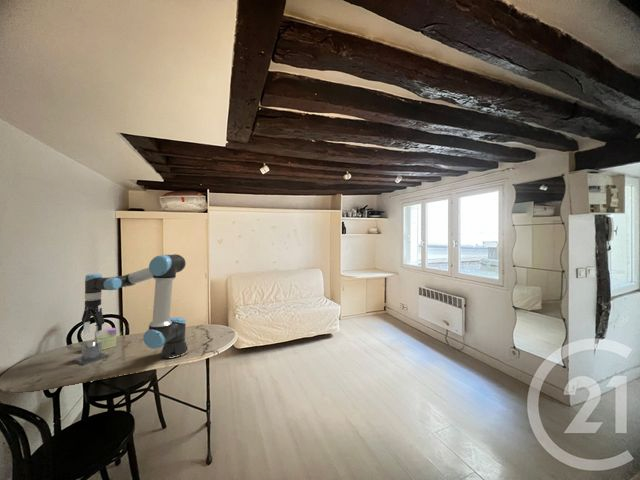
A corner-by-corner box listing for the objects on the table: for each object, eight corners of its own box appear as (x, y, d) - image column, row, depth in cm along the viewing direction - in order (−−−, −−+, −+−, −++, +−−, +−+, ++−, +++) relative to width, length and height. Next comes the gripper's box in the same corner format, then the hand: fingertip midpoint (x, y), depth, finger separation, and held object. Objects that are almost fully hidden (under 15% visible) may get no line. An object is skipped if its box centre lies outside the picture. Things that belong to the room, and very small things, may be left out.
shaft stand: (108, 357, 156) (108, 340, 156) (83, 365, 145) (84, 347, 145) (97, 353, 161) (98, 337, 161) (73, 361, 150) (73, 343, 150)
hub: (102, 355, 155) (103, 344, 155) (86, 361, 148) (87, 349, 148) (95, 353, 158) (96, 342, 158) (79, 358, 151) (80, 346, 151)
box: (113, 344, 175) (114, 327, 176) (116, 346, 172) (116, 329, 172) (93, 349, 167) (94, 331, 167) (96, 351, 164) (97, 333, 164)
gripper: (112, 299, 152) (111, 335, 151) (89, 296, 162) (89, 329, 162) (96, 302, 145) (96, 339, 145) (74, 298, 155) (74, 333, 155)
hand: (92, 334), depth 153 cm, fingers open, 13 cm apart
